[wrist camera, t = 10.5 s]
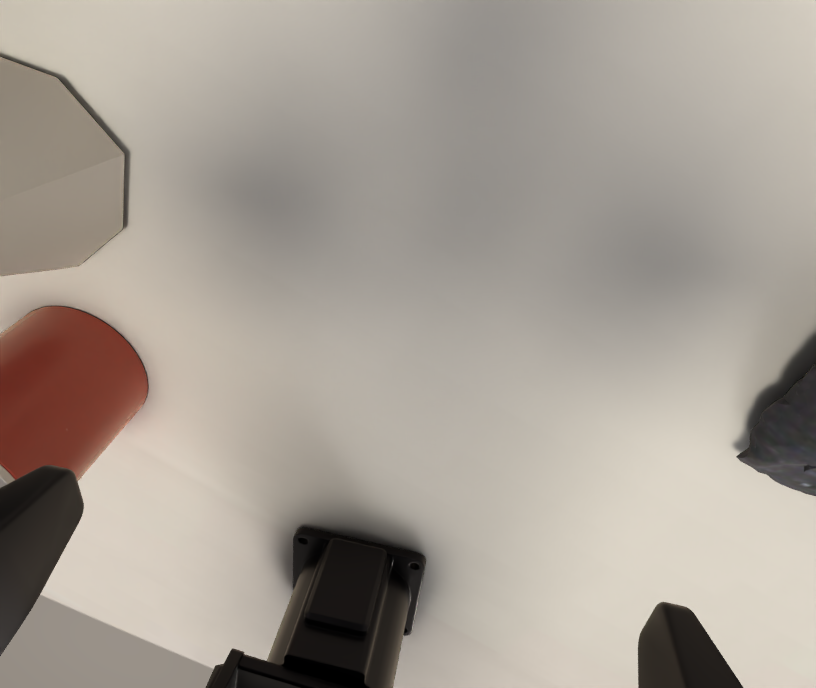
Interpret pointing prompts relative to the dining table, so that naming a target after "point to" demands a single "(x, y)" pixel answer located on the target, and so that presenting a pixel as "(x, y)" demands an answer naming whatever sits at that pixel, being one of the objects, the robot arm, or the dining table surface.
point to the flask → (53, 175)
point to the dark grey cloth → (787, 438)
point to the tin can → (64, 391)
